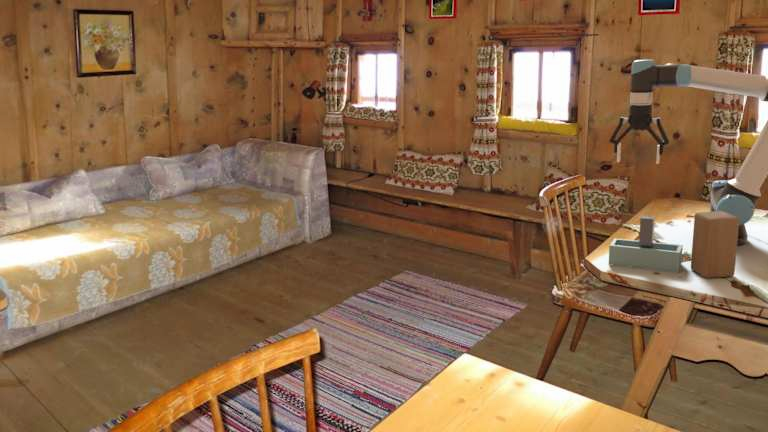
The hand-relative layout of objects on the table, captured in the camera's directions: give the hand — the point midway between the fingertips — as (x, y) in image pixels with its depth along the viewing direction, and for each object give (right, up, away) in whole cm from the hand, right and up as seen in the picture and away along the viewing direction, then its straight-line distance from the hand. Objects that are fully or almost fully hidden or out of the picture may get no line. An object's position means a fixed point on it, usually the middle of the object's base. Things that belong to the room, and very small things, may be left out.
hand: (637, 162), depth 241 cm
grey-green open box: (-3, -36, -13) cm, 39 cm away
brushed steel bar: (-3, -35, -13) cm, 38 cm away
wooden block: (+15, -39, -24) cm, 48 cm away
